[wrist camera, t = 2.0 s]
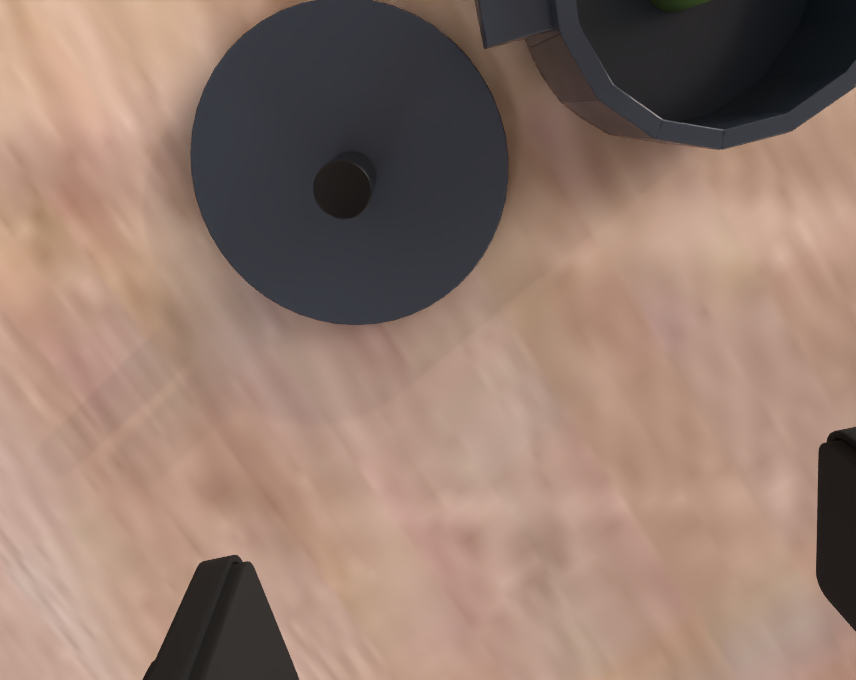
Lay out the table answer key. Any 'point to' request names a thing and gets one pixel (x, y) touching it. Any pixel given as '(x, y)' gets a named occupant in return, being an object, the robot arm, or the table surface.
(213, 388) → the table surface
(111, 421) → the table surface
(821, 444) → the robot arm
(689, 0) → the green cylinder
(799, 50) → the pot
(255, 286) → the pot lid
